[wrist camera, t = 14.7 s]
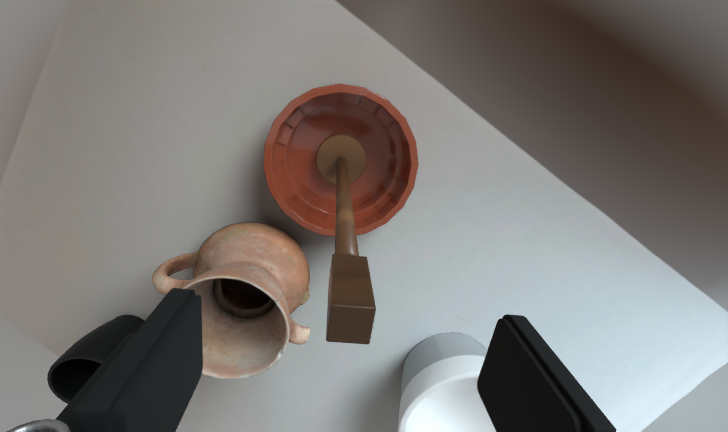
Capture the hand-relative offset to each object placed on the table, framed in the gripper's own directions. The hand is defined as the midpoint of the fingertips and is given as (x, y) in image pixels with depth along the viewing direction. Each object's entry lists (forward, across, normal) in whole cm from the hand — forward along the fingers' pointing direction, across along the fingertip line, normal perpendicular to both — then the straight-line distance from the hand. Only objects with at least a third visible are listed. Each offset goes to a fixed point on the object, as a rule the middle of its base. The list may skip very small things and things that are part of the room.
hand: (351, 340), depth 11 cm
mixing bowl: (+34, 0, +1) cm, 34 cm away
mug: (+34, +25, +30) cm, 52 cm away
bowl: (+34, -21, +33) cm, 52 cm away
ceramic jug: (+34, +10, +17) cm, 39 cm away
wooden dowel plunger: (+33, 0, +1) cm, 33 cm away
